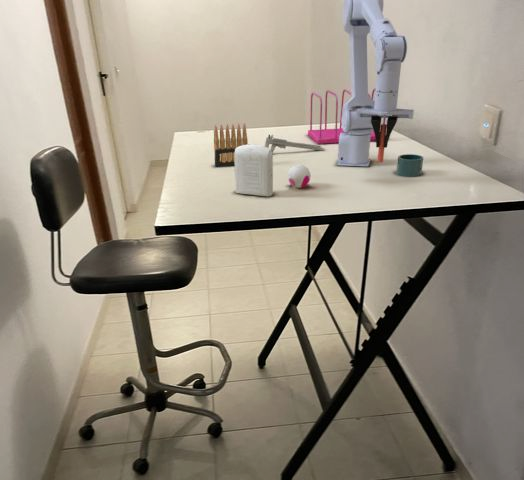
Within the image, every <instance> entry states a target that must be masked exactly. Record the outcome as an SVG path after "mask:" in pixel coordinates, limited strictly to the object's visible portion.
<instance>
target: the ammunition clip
mask: <svg viewBox="0 0 524 480" xmlns="http://www.w3.org/2000/svg"><path fill="white" fill-rule="evenodd" d="M229 127H230V126H229V124H226V125H225V130H224V127H223V125H222V124H220V125H219V131H218V127H217V124H216V125H214V127H213V150H214V167H215V168H220V167H222V168H223V167H235V160H234V154H235V149H236V148H237V147H239V146H242V145H247V144H248V142H249V141H248V135H247V134H248V133H247V126H246V124H245V123H243V125H242V129H241V125H240V123H238V124H237V126H236V128H235V125H234V123H233V124H231V128H229ZM230 129H231V131H230ZM241 130H242V131H241ZM224 131H225V132H224ZM230 132H231V133H230Z"/></svg>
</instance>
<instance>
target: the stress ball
mask: <svg viewBox="0 0 524 480" xmlns="http://www.w3.org/2000/svg"><path fill="white" fill-rule="evenodd" d="M287 180H288V183H289V187H291V186H292V187H294V188H296V189H302V188H310V186H309V185H308V184H309V183H310V181H311V171H310V169H309V168H308V167H307V166H306V165H304V164H295V165H293V166H292V167H290V169H289V170H288V173H287Z"/></svg>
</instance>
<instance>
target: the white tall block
mask: <svg viewBox="0 0 524 480" xmlns="http://www.w3.org/2000/svg"><path fill="white" fill-rule="evenodd" d="M273 157H274V154H273V153H272V150H271V148H270V147H269V148H267V147H265V145H262V144H261V145H260V144H256V143H255V144H254V143H251V144H247V145H242V146H239V147H237V148H236V149H235V154H234V160H235V166H234V181H235V193H236V194H242V195H251V196H261V197H271V196H273V195H274V158H273Z"/></svg>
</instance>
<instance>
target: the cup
mask: <svg viewBox="0 0 524 480" xmlns="http://www.w3.org/2000/svg"><path fill="white" fill-rule="evenodd" d="M423 164H424V156H422V155H419V154H414V153H413V154H412V153H407V154H406V153H405V154H400V155H398V156H397V163H396V174H397V175H399V176H402V177H418V176H421V175H422V173H423V172H422V171H423Z"/></svg>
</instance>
